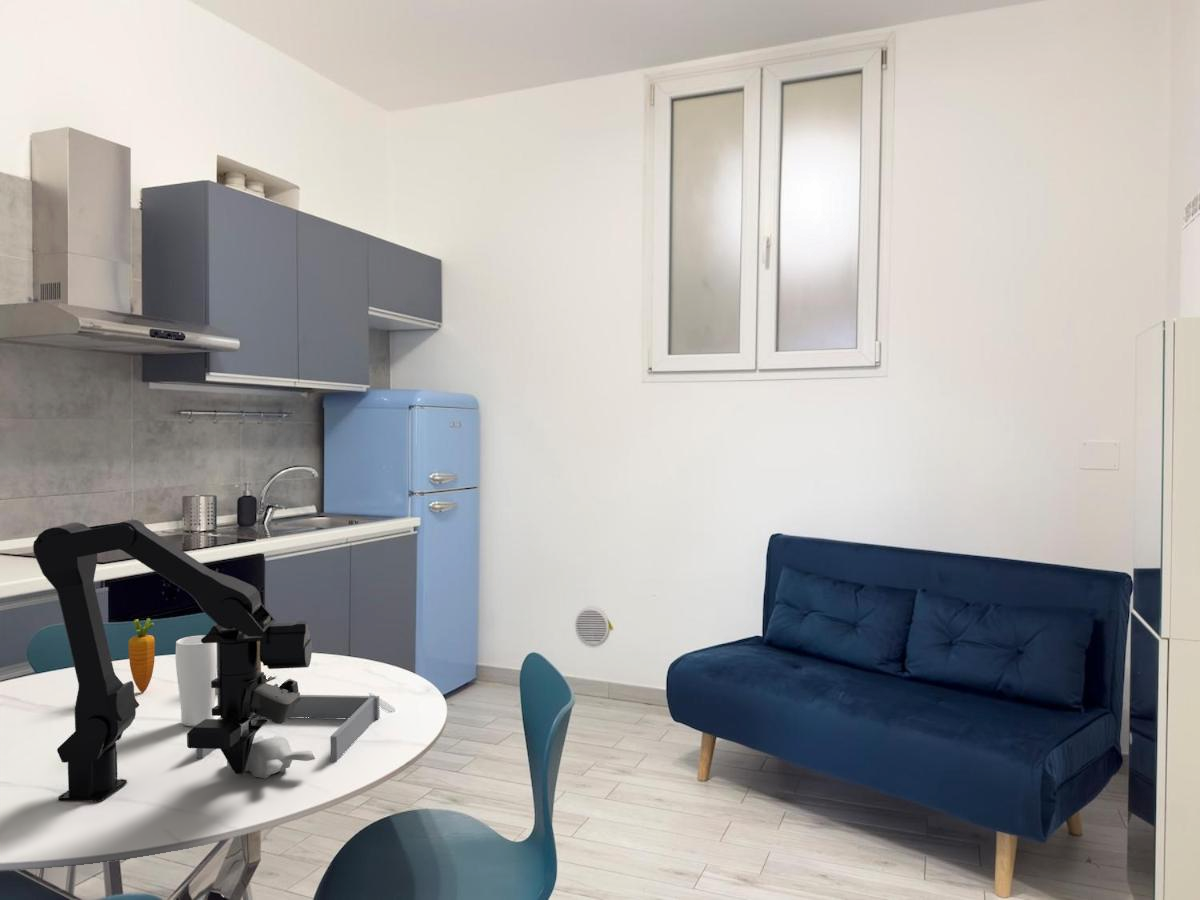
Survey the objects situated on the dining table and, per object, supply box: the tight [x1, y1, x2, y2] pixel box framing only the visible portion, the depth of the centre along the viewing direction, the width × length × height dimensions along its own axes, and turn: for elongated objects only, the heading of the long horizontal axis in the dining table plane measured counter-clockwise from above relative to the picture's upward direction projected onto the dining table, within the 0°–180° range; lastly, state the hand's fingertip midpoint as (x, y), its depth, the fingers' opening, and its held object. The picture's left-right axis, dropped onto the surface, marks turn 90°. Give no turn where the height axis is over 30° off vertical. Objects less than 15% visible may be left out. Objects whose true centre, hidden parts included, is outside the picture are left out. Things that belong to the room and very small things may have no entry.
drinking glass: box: [175, 634, 217, 727], centre depth 154 cm, size 7×7×15 cm
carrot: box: [128, 617, 156, 693], centre depth 171 cm, size 5×5×15 cm
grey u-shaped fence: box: [196, 694, 381, 762], centre depth 147 cm, size 20×24×4 cm
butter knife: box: [368, 692, 396, 713], centre depth 171 cm, size 1×27×3 cm
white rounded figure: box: [226, 735, 316, 780], centre depth 133 cm, size 10×5×15 cm
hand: (239, 773), depth 128 cm, fingers closed
